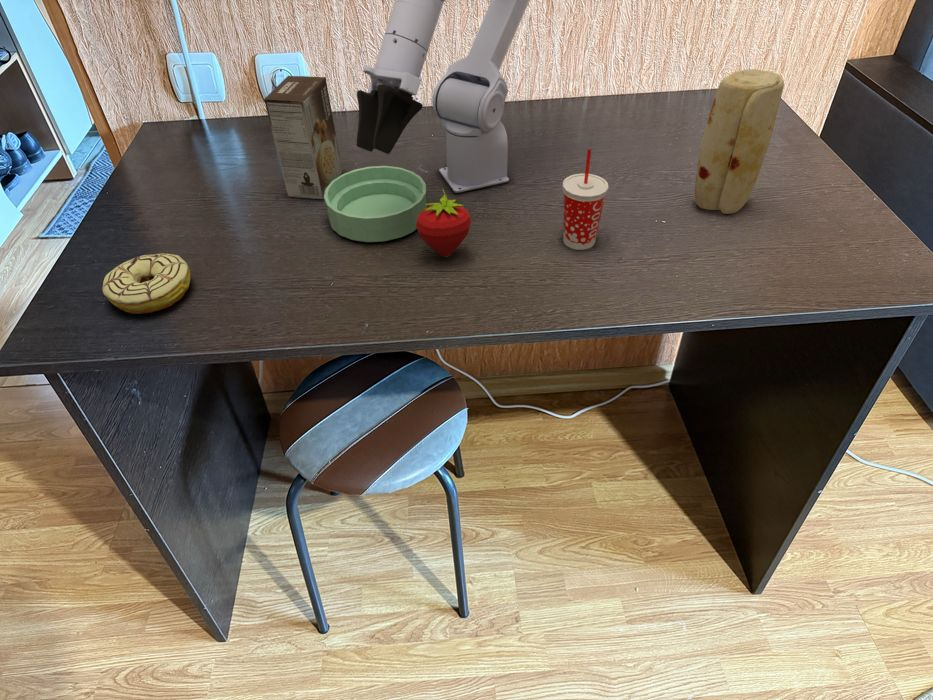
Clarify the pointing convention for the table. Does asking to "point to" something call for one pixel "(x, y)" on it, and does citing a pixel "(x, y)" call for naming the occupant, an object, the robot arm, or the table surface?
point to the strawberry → (443, 225)
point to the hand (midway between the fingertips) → (372, 150)
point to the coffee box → (304, 135)
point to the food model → (737, 139)
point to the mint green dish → (375, 203)
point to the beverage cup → (582, 207)
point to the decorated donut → (147, 283)
